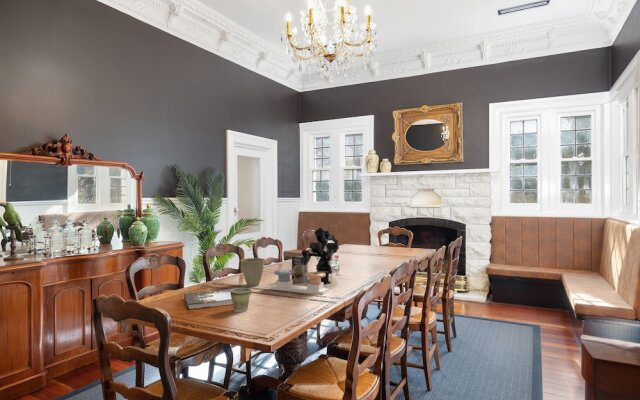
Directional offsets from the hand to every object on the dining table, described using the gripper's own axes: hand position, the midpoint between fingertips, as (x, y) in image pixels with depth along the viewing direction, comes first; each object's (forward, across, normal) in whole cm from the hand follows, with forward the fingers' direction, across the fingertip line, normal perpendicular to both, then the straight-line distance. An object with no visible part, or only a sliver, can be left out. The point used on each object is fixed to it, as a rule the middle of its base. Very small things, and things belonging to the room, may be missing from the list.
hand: (311, 265), depth 245 cm
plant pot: (+15, -38, +5) cm, 41 cm away
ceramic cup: (+50, -7, -25) cm, 56 cm away
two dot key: (+12, -15, +2) cm, 19 cm away
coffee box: (-3, -19, +21) cm, 28 cm away
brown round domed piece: (+10, +6, +4) cm, 12 cm away
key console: (+14, -5, +6) cm, 16 cm away
